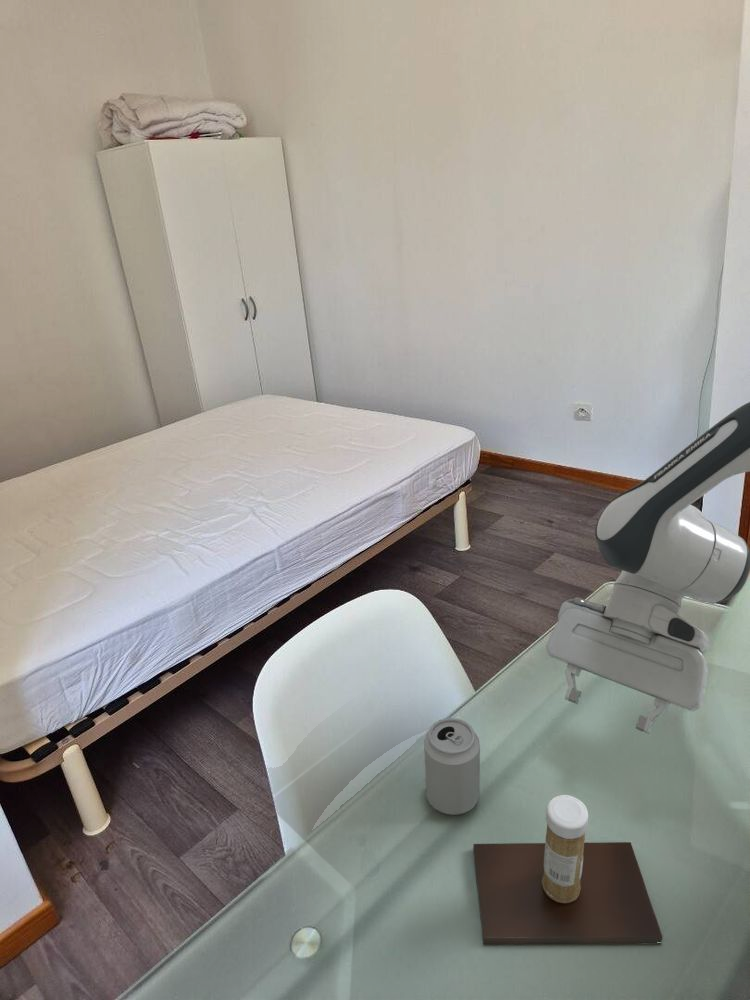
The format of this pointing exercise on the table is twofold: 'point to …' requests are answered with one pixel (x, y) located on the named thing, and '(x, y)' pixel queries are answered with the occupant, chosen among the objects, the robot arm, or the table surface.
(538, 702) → the table surface
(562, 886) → the spice jar
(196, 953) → the table surface
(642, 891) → the walnut board
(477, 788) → the can
